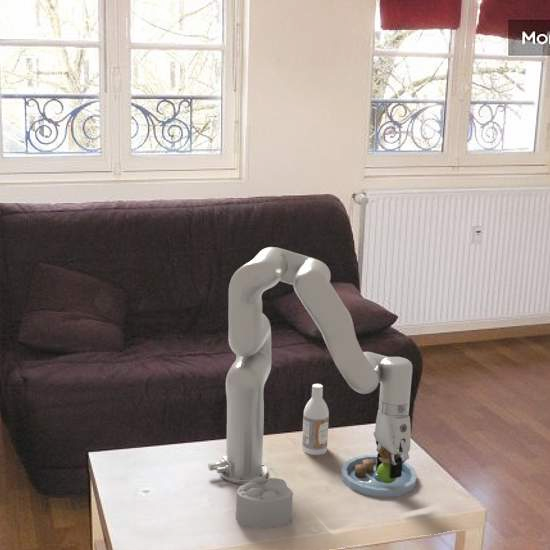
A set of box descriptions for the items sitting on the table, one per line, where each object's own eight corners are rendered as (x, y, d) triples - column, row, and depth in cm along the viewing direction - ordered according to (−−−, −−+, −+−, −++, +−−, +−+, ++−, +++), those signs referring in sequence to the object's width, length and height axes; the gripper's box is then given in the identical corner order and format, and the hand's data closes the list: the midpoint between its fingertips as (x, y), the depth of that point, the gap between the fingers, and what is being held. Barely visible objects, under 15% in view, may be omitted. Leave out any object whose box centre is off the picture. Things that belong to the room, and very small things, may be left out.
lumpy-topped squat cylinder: (295, 523, 209) (296, 490, 207) (243, 532, 205) (244, 498, 203) (280, 502, 219) (281, 470, 217) (230, 509, 215) (230, 477, 212)
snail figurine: (400, 488, 222) (404, 445, 219) (375, 485, 224) (378, 442, 220) (402, 478, 228) (405, 436, 224) (377, 475, 229) (380, 433, 226)
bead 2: (365, 473, 232) (366, 465, 232) (360, 468, 235) (360, 460, 234) (375, 471, 234) (376, 463, 233) (369, 466, 236) (370, 458, 236)
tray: (365, 506, 218) (366, 495, 217) (328, 471, 235) (329, 462, 234) (430, 491, 226) (431, 482, 225) (390, 459, 243) (390, 450, 242)
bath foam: (314, 460, 241) (318, 392, 236) (296, 451, 246) (299, 384, 240) (331, 453, 246) (335, 386, 240) (313, 444, 250) (317, 378, 245)
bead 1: (358, 478, 230) (358, 470, 229) (352, 473, 232) (353, 465, 232) (368, 476, 231) (368, 468, 230) (362, 471, 233) (363, 463, 233)
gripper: (426, 417, 214) (420, 484, 219) (388, 391, 229) (383, 455, 234) (399, 422, 211) (394, 490, 216) (363, 395, 226) (359, 459, 231)
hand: (388, 471), depth 225 cm, fingers closed on snail figurine, 5 cm apart
